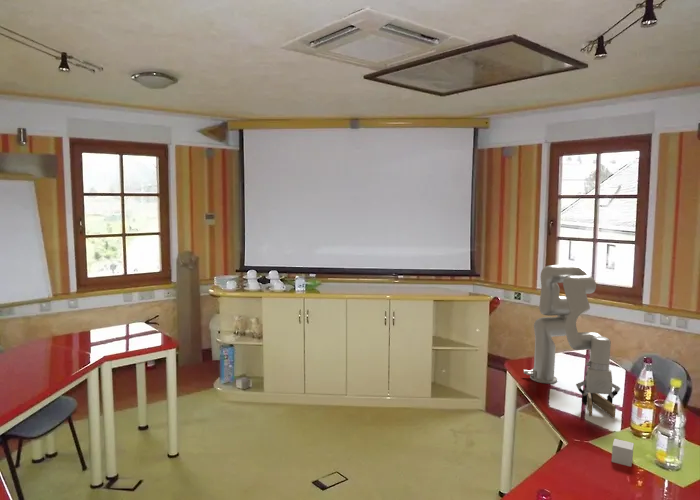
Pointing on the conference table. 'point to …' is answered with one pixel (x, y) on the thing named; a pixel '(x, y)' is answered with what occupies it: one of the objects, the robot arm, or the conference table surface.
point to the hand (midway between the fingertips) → (596, 404)
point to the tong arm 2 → (604, 404)
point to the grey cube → (622, 452)
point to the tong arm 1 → (589, 404)
